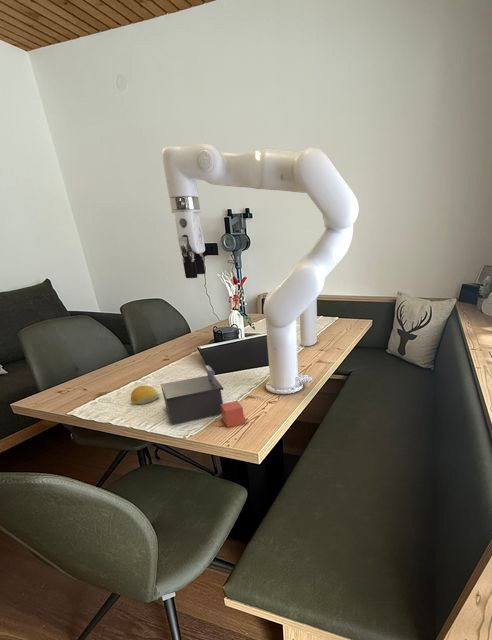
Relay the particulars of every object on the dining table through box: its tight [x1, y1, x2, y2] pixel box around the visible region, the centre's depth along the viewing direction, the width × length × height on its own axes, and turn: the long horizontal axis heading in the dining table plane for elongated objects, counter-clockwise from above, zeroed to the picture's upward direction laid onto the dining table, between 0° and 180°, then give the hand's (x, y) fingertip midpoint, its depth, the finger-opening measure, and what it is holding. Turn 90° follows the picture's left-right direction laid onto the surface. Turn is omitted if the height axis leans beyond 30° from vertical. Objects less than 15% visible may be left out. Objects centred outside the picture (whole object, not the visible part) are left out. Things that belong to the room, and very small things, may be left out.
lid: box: [160, 365, 224, 401], centre depth 104 cm, size 16×12×5 cm
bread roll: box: [130, 385, 159, 405], centre depth 116 cm, size 8×9×4 cm
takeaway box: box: [160, 386, 224, 426], centre depth 107 cm, size 15×12×7 cm
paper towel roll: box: [299, 297, 318, 347], centre depth 159 cm, size 7×6×21 cm
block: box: [220, 400, 245, 428], centre depth 100 cm, size 5×5×5 cm
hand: (196, 275), depth 104 cm, fingers open, 9 cm apart
